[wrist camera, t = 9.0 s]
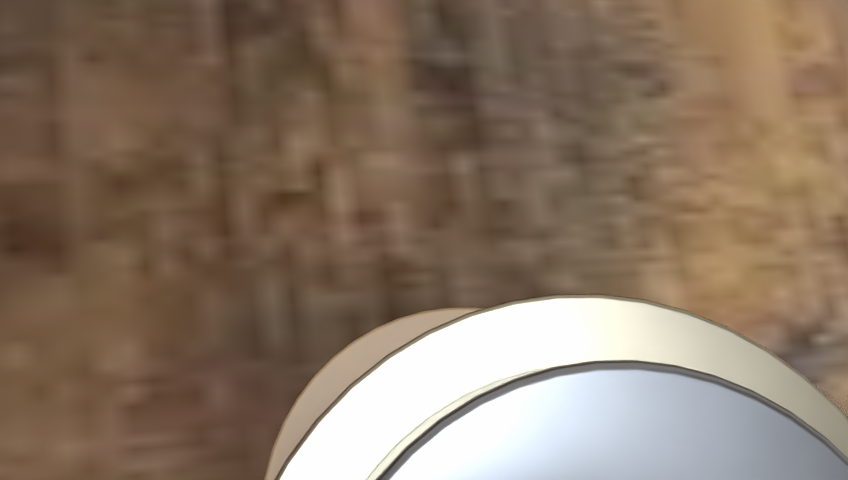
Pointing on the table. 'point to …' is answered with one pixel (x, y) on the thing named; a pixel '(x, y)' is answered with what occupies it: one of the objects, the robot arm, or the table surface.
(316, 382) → the coaster
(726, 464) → the gold metal canister
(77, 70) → the table surface
